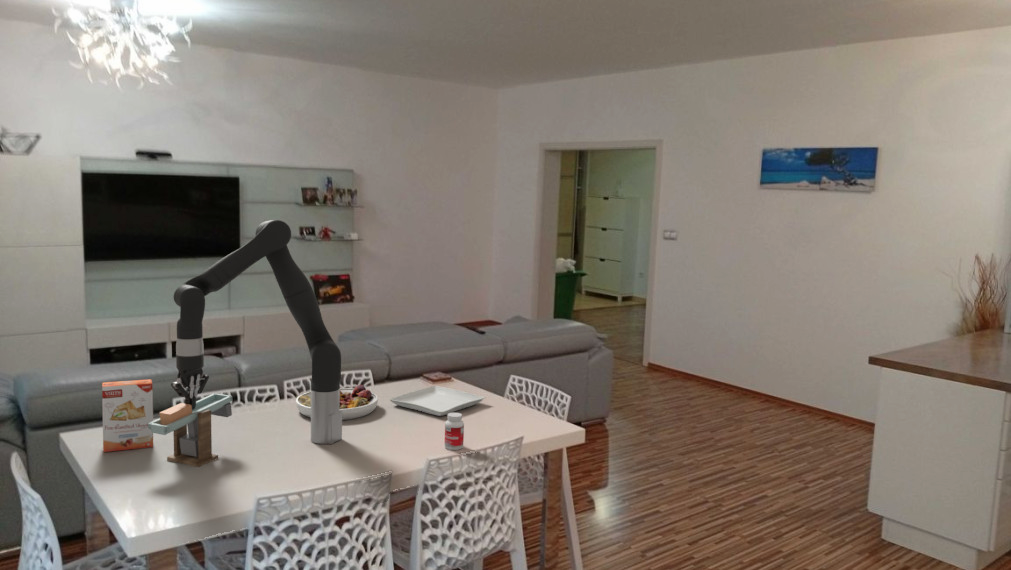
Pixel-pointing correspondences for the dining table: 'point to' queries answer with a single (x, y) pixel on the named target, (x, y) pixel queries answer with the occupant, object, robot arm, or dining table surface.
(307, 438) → the dining table surface
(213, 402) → the beam
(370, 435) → the dining table surface
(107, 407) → the cracker box
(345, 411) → the bowl
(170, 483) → the dining table surface
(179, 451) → the pivot stand
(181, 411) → the block
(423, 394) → the square plate
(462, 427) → the pill bottle
